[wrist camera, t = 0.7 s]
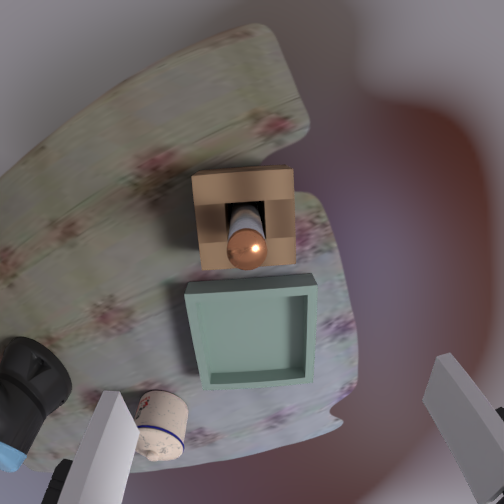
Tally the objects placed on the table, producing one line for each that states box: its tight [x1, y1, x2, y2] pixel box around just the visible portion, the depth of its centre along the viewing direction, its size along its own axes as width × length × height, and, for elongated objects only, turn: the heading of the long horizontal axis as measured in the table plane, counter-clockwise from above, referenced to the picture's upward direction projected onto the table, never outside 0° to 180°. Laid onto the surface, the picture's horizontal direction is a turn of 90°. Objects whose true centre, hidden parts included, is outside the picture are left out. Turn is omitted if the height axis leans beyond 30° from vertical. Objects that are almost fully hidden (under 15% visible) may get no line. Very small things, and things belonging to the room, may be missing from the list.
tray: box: [184, 273, 318, 390], centre depth 42 cm, size 16×16×4 cm
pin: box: [227, 201, 267, 270], centre depth 31 cm, size 3×3×15 cm
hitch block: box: [191, 165, 296, 270], centre depth 35 cm, size 10×10×6 cm
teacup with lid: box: [134, 391, 188, 461], centre depth 44 cm, size 12×9×12 cm
